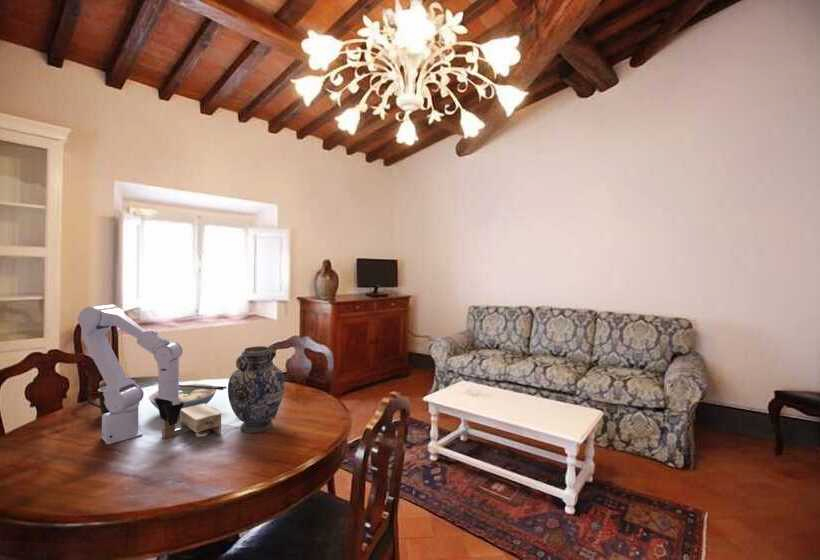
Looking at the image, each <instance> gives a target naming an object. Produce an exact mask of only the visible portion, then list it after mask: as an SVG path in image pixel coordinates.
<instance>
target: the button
mask: <svg viewBox="0 0 820 560" xmlns="http://www.w3.org/2000/svg"><path fill="white" fill-rule="evenodd" d="M209 433H210V430H209V429H205V430H202V431H198V432H194V434H195V437H196V438H205V437H206V436H209Z"/></svg>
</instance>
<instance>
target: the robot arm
mask: <svg viewBox="0 0 820 560" xmlns="http://www.w3.org/2000/svg"><path fill="white" fill-rule="evenodd" d="M76 321H77V322H78V325H79V326H80V329H81V338H82V340H83V342H84V344H85V346H86V348H87V350H88V352H89V354H90V356H91V358H92V360H93V362H94V363H95V366H96V367H97V370H98V371H99V374H100V375H101V377H102V378H103V379H102V380H103V381H104V382H105V385H106V386H107V387H106V386H105V387H106V389H105V391H104V393H103V395H104V397H105V405H106V408H107V409H108V410H109V411H110V412H108V413H105V414H103V415H102V414H101V435H100V436H101V439H102V440H103V441H104V443H105V444H106V445H111V444H115V443H117V442H118V443H119V442H121V441H125V440H129V439H133V438H137V437H141V436H143V433H142V432H141V430H140V429H139V406H140V402H141V401H142V400H143V399H144V395H145V394H144V389H143V388H142V387H140V386H139V385H138V384H137V382H136V381H135V379H132V378H129V377H127V375H126V373H125V372H124V369H123V367H122V365H121V364H120V361H119V360H118V358H117V356H116V354H115V352H114V350H113V348H112V346H111V344H110V342H109V340H108V338H107V336H106V335H107V333H108V331H109V330H110V328H111V327H116V328H118V329H120V331H121V330H122V331H123V332H125V333H126V334H128V335H130V336H132V337H134V338H135V339H136V343H137V345H138V346H140V347H142V348H143V349H145V350H146V351H147V352H149V353H150V354H152V355H153V359H154V360H155V361H156V364H157V369H158V374H157V375H158V377H157V380H158V385H157V387H158V389H157V391H158V398H154V401H155V402H156V404H157V406H158V409H159V410H158V409H157V410H158V413H159V417H160V419H161V420H162V418H166V417H167V419H168V424H169V425H174V424H175V425H177V424H178V420H179V418H180V415H179V413H180V411H181V408H182V407H183V405H184V402H183V401H182V402H180V398H179V395H180V394H182V393H183V391H181V390H180V391H179V385H180V373H179V372H180V368H179V367H180V361H179V360H180V359H179V358H180V357H181V356H183V355H182V354H183V348H182V346H181V345H180V343H178V342H176V341H170V340H169V339H166V338H164V337H163V336H162V335H160V334H159V333H158V331H157V330H154V329H153V330H152V329H147V330H146V329H144V328H143V327H142V326H140V325H139V324H138V323H137V322H135V321H134V320H133V319H131V318H130V317H129V316H127V314H125V312H124V310H123V309H121V308H119V307H118V306H117V305H115V304H113V303H111V304H110V303H109V304H108V303H107V304H105V305H104V304H103V305H96V306H86V307H84V308H83V309H82V310H80V313H79V314H78V316H77V320H76ZM120 389H121V390H120ZM119 390H120V391H119Z"/></svg>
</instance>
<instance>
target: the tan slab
mask: <svg viewBox="0 0 820 560" xmlns="http://www.w3.org/2000/svg"><path fill="white" fill-rule="evenodd" d="M185 426H188V427H189V428H190V429H192V431H193V432H194V433H196V432H198V431H202V430H205V429H207V430H209V429H210V430H211V431H213V432H214V433H215V434H217V435H221V434H222V412H220V411H218V410H217V409H215V408H213V407H212V406H210V405H208V403H207V404H205V403H204V404H199V405H195V406H191V407H187V408H182V409H181V411H180V415H179V428H182V427H185Z"/></svg>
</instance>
